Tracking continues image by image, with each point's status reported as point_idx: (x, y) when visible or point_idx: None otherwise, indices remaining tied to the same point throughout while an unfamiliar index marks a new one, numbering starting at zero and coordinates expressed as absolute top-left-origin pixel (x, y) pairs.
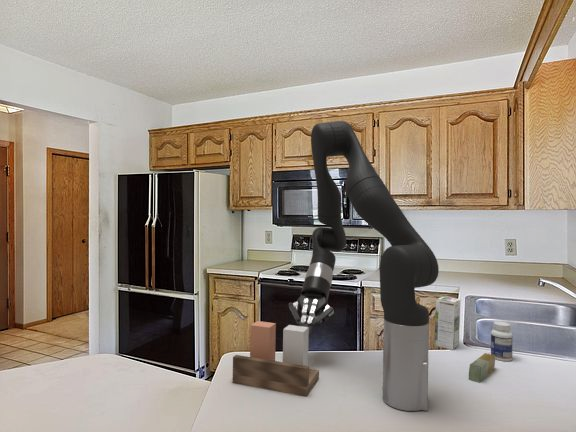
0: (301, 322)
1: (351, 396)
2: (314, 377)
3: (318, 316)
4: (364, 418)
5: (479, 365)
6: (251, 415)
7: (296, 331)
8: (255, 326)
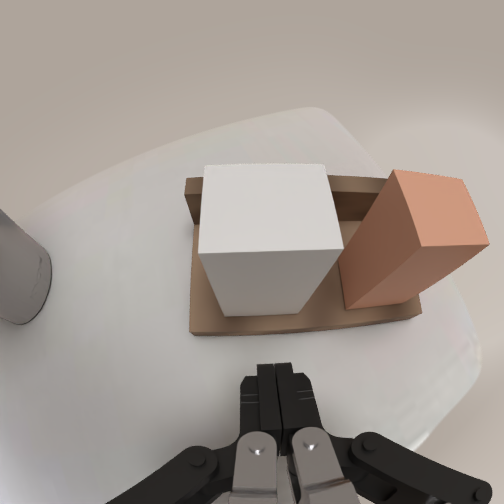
0: (321, 435)
1: (103, 263)
2: (191, 280)
3: (185, 489)
4: (89, 196)
5: None
6: (273, 135)
7: (246, 166)
8: (445, 177)
